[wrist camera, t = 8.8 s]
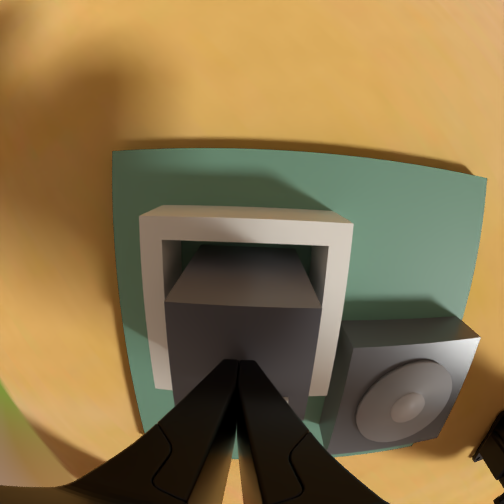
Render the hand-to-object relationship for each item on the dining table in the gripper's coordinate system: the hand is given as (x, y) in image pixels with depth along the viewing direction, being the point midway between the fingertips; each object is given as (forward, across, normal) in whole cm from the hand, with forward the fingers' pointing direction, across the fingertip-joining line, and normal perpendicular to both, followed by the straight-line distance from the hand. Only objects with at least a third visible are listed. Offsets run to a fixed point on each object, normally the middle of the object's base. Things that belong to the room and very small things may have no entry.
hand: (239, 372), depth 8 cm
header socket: (+6, 0, 0) cm, 6 cm away
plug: (+6, 0, 0) cm, 6 cm away
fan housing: (+7, -8, +5) cm, 12 cm away
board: (+7, -3, +3) cm, 8 cm away
